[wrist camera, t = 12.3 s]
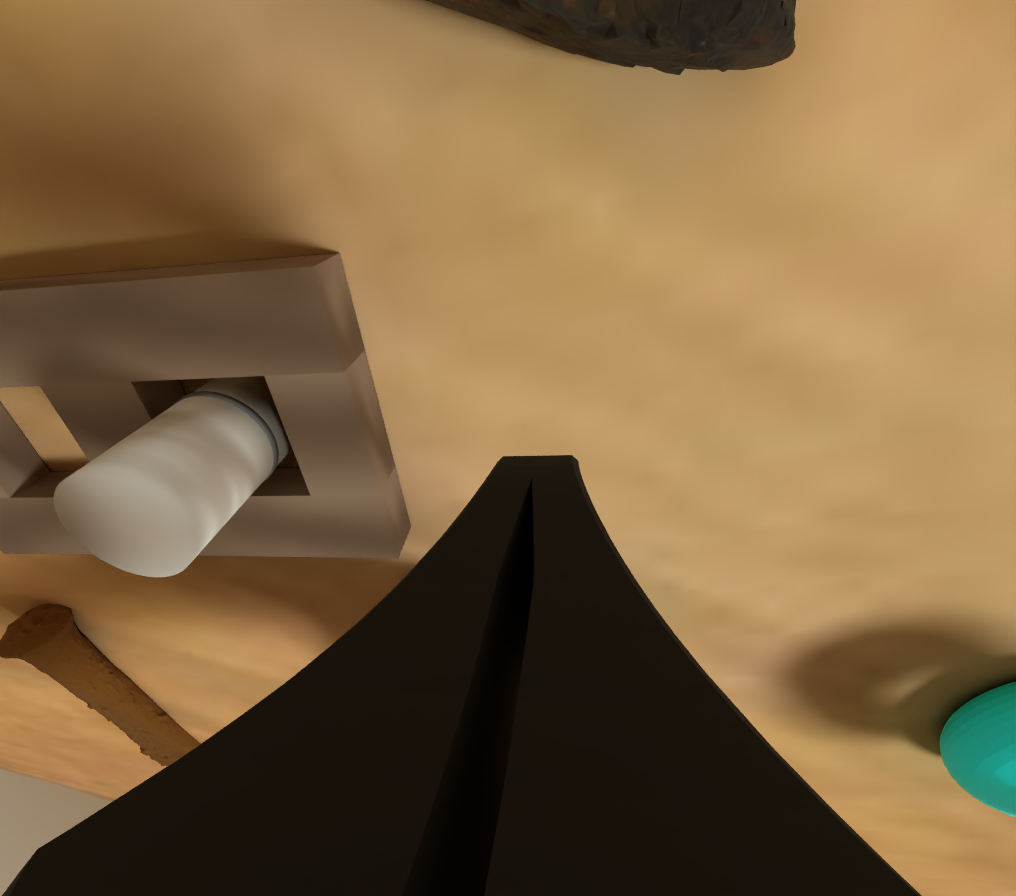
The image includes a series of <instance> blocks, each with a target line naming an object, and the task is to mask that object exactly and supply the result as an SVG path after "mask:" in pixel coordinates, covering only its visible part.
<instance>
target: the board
mask: <svg viewBox="0 0 1016 896" xmlns="http://www.w3.org/2000/svg"><path fill="white" fill-rule="evenodd" d="M249 376H264V377H265V379H266V382H267V385H268V387H269V390H270V392H271V395H272V397H273V400H274V403H275V405H276V408H277V410H278V413H279V415H280V418H281V421H282V423H283V426H284V428H285V431H286V434H287V436H288V439H289V441H290V444H291V446H292V449H293V452H294V454H295V457H296V459H297V462H298V464H299V467H300V468H275V470H274V472H273V473H272V474H271V475H270V476H269V477H268V479H266V480H265V481H264V482H262V483H261V484H260V486H259V487H258V488H257V489H256V490H255V491H254V492H253V493H252V495H251V496H250V497H249V498H248V499H247V500H246V501H245V502H244V504H243V505H242V506H241V507H240V508H239V509H238V510H237V511H236V513H235V514H234V515H233V516H232V517H231V518H230V519H229V520H228V522H227V523H226V524H225V525H224V526H223V527H222V528H221V529H220V531H219V532H218V533H217V534H216V535H215V536H214V537H213V538H212V540H211V541H210V542H209V543H208V544H207V545H206V546H205V547H204V549H203V550H202V551H201V552H200V553H199V554H198V555H197V556H261V557H343V558H399V555H400V553H401V550H402V548H403V545H404V543H405V540H406V538H407V535H408V533H409V531H410V528H411V525H410V521H409V517H408V513H407V509H406V506H405V502H404V498H403V494H402V490H401V486H400V483H399V479H398V475H397V471H396V467H395V463H394V460H393V456H392V452H391V448H390V444H389V440H388V437H387V433H386V429H385V425H384V421H383V417H382V414H381V410H380V406H379V402H378V398H377V394H376V391H375V387H374V383H373V379H372V375H371V371H370V368H369V364H368V360H367V356H366V352H365V349H364V345H363V341H362V337H361V333H360V329H359V326H358V322H357V318H356V314H355V310H354V306H353V303H352V299H351V295H350V291H349V287H348V283H347V280H346V276H345V272H344V268H343V264H342V260H341V257H340V253H333V254H320V255H308V256H296V257H283V258H271V259H259V260H246V261H234V262H222V263H209V264H197V265H185V266H173V267H160V268H148V269H136V270H123V271H111V272H99V273H86V274H74V275H62V276H49V277H37V278H25V279H12V280H0V388H2V387H25V386H40V387H41V388H42V390H43V391H44V393H45V394H46V396H47V397H48V399H49V400H50V402H51V404H52V405H53V407H54V408H55V410H56V411H57V413H58V414H59V416H60V417H61V419H62V420H63V422H64V423H65V425H66V426H67V428H68V429H69V431H70V432H71V434H72V435H73V437H74V438H75V440H76V441H77V443H78V444H79V446H80V447H81V449H82V450H83V452H84V454H85V455H86V457H87V458H88V460H89V461H90V462H91V461H92V460H94V459H95V458H96V457H98V456H99V455H101V454H102V453H104V452H105V451H107V450H108V449H110V448H111V447H113V446H114V445H116V444H117V443H119V442H120V441H121V440H123V439H124V438H126V437H127V436H129V435H130V434H132V433H133V432H135V431H136V430H138V429H139V428H141V427H142V426H144V425H145V424H146V423H148V422H149V421H151V420H152V419H154V418H155V417H157V416H158V415H160V414H161V413H163V412H164V411H166V410H167V409H169V408H170V407H171V406H172V405H173V404H174V403H175V402H176V401H178V400H179V399H181V398H182V397H183V396H185V395H186V394H185V392H184V390H183V388H182V386H181V383H180V381H179V380H182V379H204V378H227V377H249ZM74 472H76V471H54V472H50V470H49V469H48V468H47V466H46V465H45V463H44V462H43V461H42V459H41V458H40V456H39V455H38V454H37V452H36V451H35V450H34V448H33V447H32V445H31V444H30V443H29V441H28V440H27V438H26V437H25V436H24V434H23V433H22V432H21V430H20V429H19V427H18V426H17V425H16V423H15V422H14V420H13V419H12V418H11V416H10V415H9V414H8V412H7V411H6V409H5V408H4V407H3V405H2V404H1V402H0V550H1V551H2V552H3V553H15V554H92V553H90V552H89V551H88V550H86V549H85V548H84V547H83V546H81V545H80V544H79V543H78V542H77V541H76V540H75V539H74V538H73V537H72V536H71V535H70V534H69V533H68V531H67V530H66V529H65V527H64V526H63V525H62V523H61V521H60V520H59V518H58V516H57V513H56V511H55V507H54V492H55V490H56V487H57V486H58V485H59V483H60V482H62V481H63V480H64V479H66V478H67V477H69V476H70V475H71V474H73V473H74Z"/></svg>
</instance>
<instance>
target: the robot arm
mask: <svg viewBox="0 0 1016 896" xmlns="http://www.w3.org/2000/svg"><path fill="white" fill-rule="evenodd" d="M2 896H921V895H920V894H919V893H918V892H917V891H916V890H915V889H914V888H913V887H912V886H911V885H910V884H909V883H908V882H907V881H906V880H904V879H903V878H902V877H901V876H900V875H899V874H898V873H897V872H896V871H895V870H894V869H893V868H892V867H891V866H890V865H889V864H888V863H887V862H886V861H885V860H884V859H883V858H882V857H881V856H880V855H879V854H877V853H876V852H875V851H874V850H873V849H872V848H871V847H870V846H869V845H868V844H867V843H866V842H865V841H864V840H863V839H862V838H861V837H860V836H859V835H858V834H857V833H856V832H855V831H854V830H853V829H852V828H851V827H850V826H849V825H848V824H847V823H846V822H845V821H844V820H843V819H842V818H841V817H840V816H839V815H838V814H837V813H836V812H835V811H834V810H833V809H832V808H831V807H830V806H829V805H828V804H827V803H826V802H825V801H824V800H823V799H822V798H821V797H820V796H819V795H818V794H817V793H816V792H815V791H814V790H813V789H812V788H811V787H810V786H809V785H808V784H807V783H806V782H805V780H804V779H803V778H802V777H801V776H800V775H799V774H798V773H797V772H796V771H795V770H794V769H793V768H792V767H791V766H790V765H789V764H788V763H787V762H786V761H785V760H784V759H783V758H782V757H781V756H780V755H779V754H778V753H777V752H776V751H775V750H774V748H773V747H772V746H771V745H770V744H769V743H768V742H767V741H766V740H765V739H764V737H763V736H762V735H761V734H760V733H759V732H758V731H757V730H756V728H755V727H754V726H753V725H752V724H751V723H750V722H749V721H748V719H747V718H746V717H745V716H744V715H743V714H742V713H741V712H740V710H739V709H738V708H737V707H736V706H735V705H734V704H733V703H732V702H731V700H730V699H729V698H728V697H727V696H726V695H725V694H724V693H723V691H722V690H721V689H720V688H719V687H718V686H717V685H716V684H715V682H714V681H713V680H712V679H711V678H710V677H709V676H708V675H707V673H706V672H705V671H704V670H703V669H702V668H701V666H700V665H699V664H698V663H697V661H696V660H695V659H694V658H693V656H692V655H691V654H690V653H689V651H688V650H687V649H686V648H685V646H684V645H683V644H682V643H681V641H680V640H679V639H678V638H677V636H676V635H675V634H674V633H673V631H672V630H671V629H670V627H669V626H668V625H667V623H666V622H665V620H664V619H663V618H662V616H661V615H660V614H659V612H658V611H657V610H656V608H655V607H654V606H653V604H652V603H651V601H650V600H649V599H648V597H647V596H646V594H645V593H644V591H643V590H642V588H641V587H640V585H639V584H638V582H637V581H636V579H635V578H634V576H633V575H632V573H631V572H630V570H629V568H628V567H627V565H626V564H625V562H624V561H623V559H622V557H621V556H620V554H619V552H618V551H617V549H616V547H615V546H614V544H613V542H612V540H611V539H610V537H609V535H608V533H607V531H606V529H605V527H604V525H603V524H602V522H601V520H600V518H599V516H598V514H597V512H596V510H595V508H594V506H593V504H592V502H591V499H590V497H589V495H588V492H587V490H586V487H585V485H584V482H583V479H582V476H581V473H580V469H579V464H578V460H577V459H575V458H574V457H573V456H572V455H559V456H503V457H502V458H501V459H500V460H499V461H498V462H497V464H496V465H495V467H494V468H493V470H492V471H491V472H490V474H489V475H488V477H487V478H486V480H485V481H484V483H483V484H482V485H481V487H480V488H479V489H478V491H477V492H476V494H475V495H474V496H473V498H472V499H471V500H470V502H469V503H468V504H467V506H466V507H465V508H464V509H463V511H462V512H461V513H460V514H459V516H458V517H457V518H456V519H455V521H454V522H453V523H452V524H451V526H450V527H449V528H448V529H447V531H446V532H445V533H444V534H443V535H442V537H441V538H440V539H439V540H438V541H437V542H436V543H435V545H434V546H433V547H432V548H431V549H430V550H429V551H428V552H427V554H426V555H425V556H424V557H423V558H422V559H421V560H420V561H419V562H418V564H417V565H416V566H415V567H414V568H413V569H412V570H411V571H410V572H409V573H408V574H407V576H406V577H405V578H404V579H403V580H402V581H401V582H400V583H399V584H398V585H397V586H396V587H395V588H394V589H393V590H392V591H391V592H390V593H389V594H388V595H387V596H386V597H385V598H384V599H383V600H381V601H380V602H379V603H378V604H377V605H376V606H375V607H374V608H373V609H372V610H371V611H370V612H369V613H368V614H367V615H366V616H364V617H363V618H362V619H361V620H360V621H359V622H358V623H357V624H356V625H354V626H353V627H352V628H351V629H350V630H349V631H347V632H346V633H345V634H344V635H343V636H342V637H341V638H339V639H338V640H337V641H336V642H335V643H334V644H332V645H331V646H330V647H329V648H328V649H326V650H325V651H324V652H323V653H322V654H320V655H319V656H318V657H317V658H315V659H314V660H313V661H312V662H311V663H309V664H308V665H307V666H306V667H305V668H303V669H302V670H301V671H300V672H298V673H297V674H296V675H295V676H294V677H292V678H291V679H290V680H288V681H287V682H286V683H285V684H283V685H282V686H281V687H279V688H278V689H277V690H275V691H274V692H272V693H271V694H270V695H268V696H267V697H266V698H264V699H263V700H262V701H260V702H259V703H258V704H256V705H255V706H254V707H252V708H251V709H249V710H248V711H247V712H245V713H244V714H243V715H241V716H240V717H239V718H237V719H236V720H234V721H233V722H231V723H230V724H229V725H227V726H226V727H224V728H223V729H222V730H220V731H219V732H217V733H216V734H215V735H213V736H212V737H210V738H209V739H207V740H206V741H205V742H203V743H202V744H200V745H199V746H197V747H196V748H194V749H193V750H191V751H190V752H188V753H187V754H186V755H184V756H183V757H181V758H180V759H178V760H177V761H175V762H174V763H172V764H171V765H169V766H168V767H166V768H164V769H163V770H161V771H160V772H158V773H157V774H155V775H154V776H152V777H150V778H149V779H147V780H146V781H144V782H143V783H141V784H140V785H138V786H136V787H135V788H133V789H132V790H130V791H129V792H127V793H126V794H124V795H122V796H121V797H119V798H118V799H116V800H115V801H113V802H112V803H110V804H108V805H107V806H105V807H104V808H102V809H101V810H99V811H98V812H96V813H95V814H93V815H91V816H90V817H88V818H87V819H85V820H84V821H82V822H81V823H79V824H77V825H76V826H74V827H73V828H71V829H70V830H68V831H66V832H65V833H63V834H61V835H60V836H58V837H57V838H55V839H53V840H52V841H50V842H48V843H47V844H45V845H44V846H42V847H40V848H39V849H37V851H36V852H35V853H34V855H33V856H32V857H31V859H30V860H29V861H28V862H27V863H26V865H25V866H24V867H23V869H22V870H21V871H20V872H19V874H18V875H17V876H16V878H15V879H14V880H13V882H12V883H11V884H10V886H9V887H8V888H7V890H6V891H5V892H4V894H3V895H2Z"/></svg>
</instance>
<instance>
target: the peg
mask: <svg viewBox="0 0 1016 896" xmlns="http://www.w3.org/2000/svg"><path fill="white" fill-rule="evenodd" d="M291 450H292V446H291V444H290V441H289V439H288V436H287V434H286V431H285V428H284V426H283V423H282V421H281V418H280V415H279V413H278V410H277V408H276V405H275V403H274V400H273V397H272V395H271V392H270V390H269V387H268V385H267V382H266V379H265V377H264V376H249V377H227V378H213V379H211V380H210V381H208V382H207V383H205V384H204V385H202V386H201V387H199V388H198V389H196V390H195V391H194V392H192V393H189V394H187V395H185V396H183V397H182V398H181V399H179V400H178V401H176V402H175V403H174V404H173V405H172V406H171V407H170V408H169V409H167V410H166V411H164V412H163V413H161V414H160V415H158V416H157V417H155V418H154V419H152V420H151V421H149V422H148V423H146V424H145V425H144V426H142V427H141V428H139V429H138V430H136V431H135V432H133V433H132V434H130V435H129V436H127V437H126V438H124V439H123V440H121V441H120V442H119V443H117V444H116V445H114V446H113V447H111V448H110V449H108V450H107V451H105V452H104V453H102V454H101V455H99V456H98V457H96V458H95V459H94V460H92V461H91V462H89V463H88V464H86V465H85V466H83V467H82V468H80V469H79V470H77V471H76V472H74V473H73V474H71V475H70V476H69V477H67V478H66V479H64V480H63V481H62V482H60V483H59V485H58V486H57V487H56V490H55V492H54V507H55V511H56V513H57V516H58V518H59V520H60V521H61V523H62V525H63V526H64V527H65V529H66V530H67V531H68V533H69V534H70V535H71V536H72V537H73V538H74V539H75V540H76V541H77V542H78V543H79V544H80V545H81V546H83V547H84V548H85V549H86V550H88V551H89V552H90V553H92V554H93V555H95V556H96V557H98V558H99V559H101V560H103V561H104V562H106V563H108V564H110V565H112V566H114V567H116V568H119V569H121V570H124V571H127V572H130V573H133V574H137V575H141V576H148V577H168V576H173V575H176V574H178V573H180V572H182V571H183V570H184V569H186V568H187V567H188V565H189V564H190V563H191V562H192V561H193V560H194V559H195V558H196V556H197V555H198V554H199V553H200V552H201V551H202V550H203V549H204V547H205V546H206V545H207V544H208V543H209V542H210V541H211V540H212V538H213V537H214V536H215V535H216V534H217V533H218V532H219V531H220V529H221V528H222V527H223V526H224V525H225V524H226V523H227V522H228V520H229V519H230V518H231V517H232V516H233V515H234V514H235V513H236V511H237V510H238V509H239V508H240V507H241V506H242V505H243V504H244V502H245V501H246V500H247V499H248V498H249V497H250V496H251V495H252V493H253V492H254V491H255V490H256V489H257V488H258V487H259V486H260V484H261V483H262V482H264V481H265V480H266V479H268V477H269V476H270V475H271V474H272V473H273V472H274V470H275V468H276V466H277V465H278V464H279V463H280V462H281V461H282V460H283V459H284V457H285V456H286V455H287V454H288V453H289V452H290V451H291Z"/></svg>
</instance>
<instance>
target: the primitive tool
mask: <svg viewBox="0 0 1016 896" xmlns="http://www.w3.org/2000/svg"><path fill="white" fill-rule="evenodd" d="M0 656H1V657H2V658H19V659H22V660H25V661H26V662H28V663H30V664H32V665H33V666H35V667H36V668H37V669H38V670H40V671H41V672H43V673H46V674H48V675H49V676H50V677H52V678H53V679H54V680H56V681H57V682H58V683H60V684H61V685H62V686H64V687H65V688H66V689H68V690H69V691H70V692H71V693H72V694H74V695H75V696H76V697H77V698H79V699H81V700H83V701H84V702H86V703H87V704H88V706H87V707H89V708H90V709H95V710H96V711H97V712H98V713H100V714H101V715H103V716H104V717H105V718H106V719H107V720H108V721H111V722H113V723H114V724H115V725H116V726H118V727H119V729H120V730H122V731H123V732H125V733H126V734H127V736H128V737H129V738H130V739H131V740H133V741H134V742H135V743H137V744H138V745H139V746H140V750H141V753H143V754H144V755H146V756H147V755H149V756H150V758H151V759H152V760H155V761H157V762H159V763H160V764H161V765H162V766H164V765H166V766H169V765H171V764H172V763H174V762H175V761H177V760H178V759H180V758H181V757H183V756H184V755H186V754H187V753H188V752H190V751H191V750H193V749H194V748H196V747H197V746H199V745H200V743H199V742H198V741H197V740H196V739H195V738H193V737H192V736H191V735H190V734H189V733H188V732H187V731H185V730H184V729H183V728H182V727H181V726H180V725H179V724H177V723H176V722H175V721H174V720H173V719H172V718H171V717H170V716H169V715H168V714H167V713H166V712H164V711H163V710H162V709H160V708H159V707H158V706H157V705H156V703H155V702H154V701H153V700H152V699H151V698H150V697H148V696H147V695H146V694H145V692H143V691H142V690H141V689H140V688H139V687H138V686H137V685H136V684H135V683H134V682H133V681H132V680H131V679H130V678H129V677H127V676H126V675H125V674H124V673H123V672H122V671H121V670H119V669H118V668H117V667H116V666H114V665H113V664H112V663H111V662H110V661H109V660H107V658H106V656H104V655H103V654H102V653H101V652H99V651H98V650H97V649H96V648H95V647H94V646H93V645H92V644H91V643H90V642H89V640H88V639H86V638H85V637H83V636H82V635H81V633H80V632H79V631H78V630H77V627H76V625H75V624H74V623H73V616H72V611H71V609H69V608H67V607H64V606H60V605H51V604H46V605H43V606H39V607H36V608H33V609H30V610H28V611H27V612H25V613H24V614H23V615H22V616H21V617H20V618H18V619H17V620H15V621H14V622H13V623H11V624H10V625H8V627H7V630H6V632H5V634H4V635H3V637H2V638H1V640H0Z"/></svg>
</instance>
